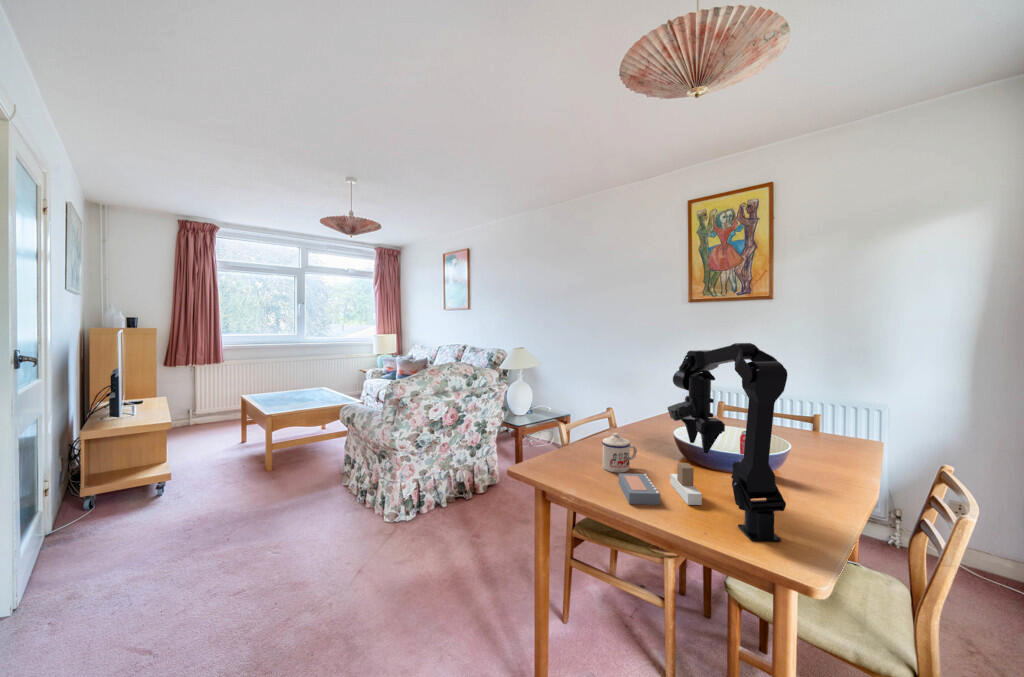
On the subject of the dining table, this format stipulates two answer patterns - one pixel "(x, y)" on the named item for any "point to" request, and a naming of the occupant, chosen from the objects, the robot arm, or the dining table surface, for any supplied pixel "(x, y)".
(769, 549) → the dining table surface
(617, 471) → the teacup with lid
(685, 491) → the stub
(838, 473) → the dining table surface
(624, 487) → the grey flat block
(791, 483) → the dining table surface
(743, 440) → the soda can
